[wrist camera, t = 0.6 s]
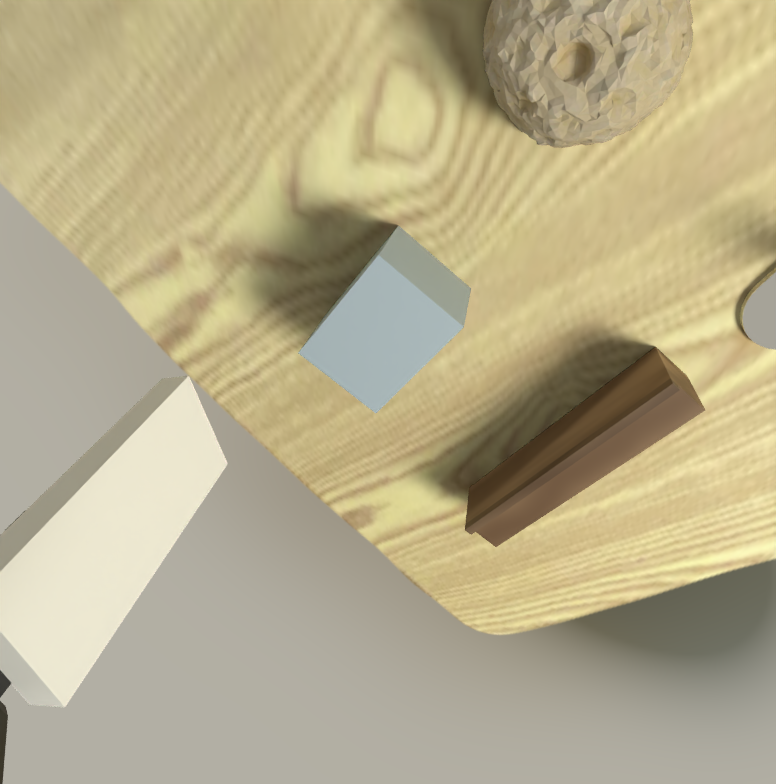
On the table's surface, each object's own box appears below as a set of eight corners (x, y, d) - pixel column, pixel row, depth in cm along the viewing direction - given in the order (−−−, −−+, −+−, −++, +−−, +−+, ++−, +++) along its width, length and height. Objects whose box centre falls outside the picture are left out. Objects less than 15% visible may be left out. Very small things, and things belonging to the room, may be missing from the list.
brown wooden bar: (469, 487, 44) (464, 529, 40) (655, 346, 35) (673, 383, 31) (497, 509, 44) (495, 553, 40) (687, 376, 36) (708, 415, 32)
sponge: (544, 135, 34) (650, 216, 27) (416, 72, 29) (510, 154, 22) (649, -40, 29) (809, 11, 22) (517, -156, 24) (677, -133, 17)
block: (326, 313, 38) (298, 352, 33) (398, 224, 34) (378, 254, 29) (393, 367, 40) (376, 413, 35) (471, 287, 36) (463, 327, 30)
